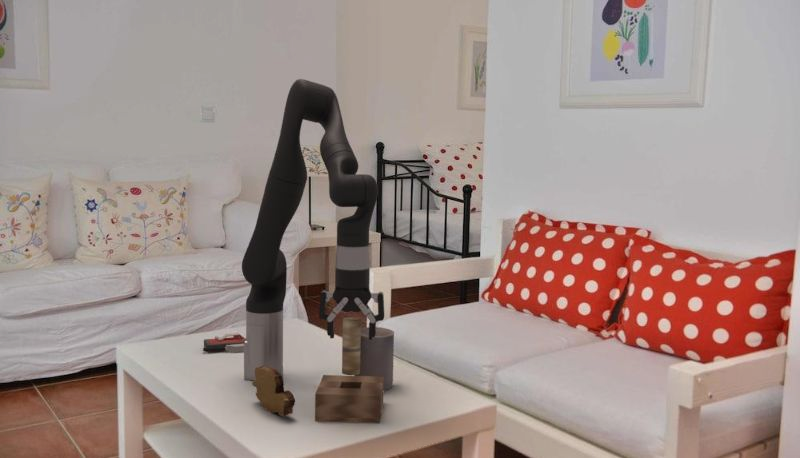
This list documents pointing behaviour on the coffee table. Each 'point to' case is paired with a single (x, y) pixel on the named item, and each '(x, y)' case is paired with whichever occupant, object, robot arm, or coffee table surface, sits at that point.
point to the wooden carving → (273, 391)
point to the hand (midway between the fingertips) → (351, 338)
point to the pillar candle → (377, 355)
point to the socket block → (349, 399)
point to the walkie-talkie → (225, 344)
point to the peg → (351, 346)
